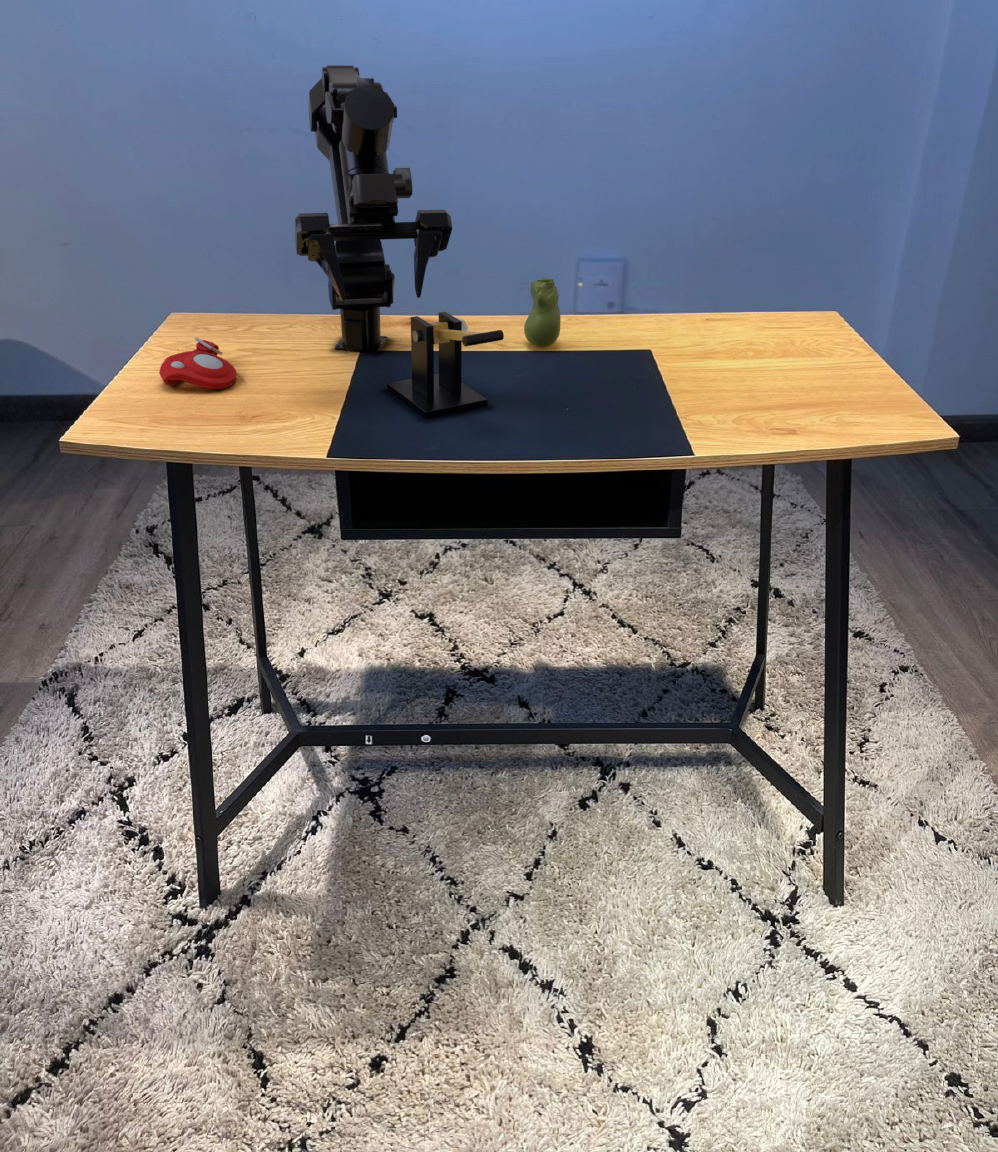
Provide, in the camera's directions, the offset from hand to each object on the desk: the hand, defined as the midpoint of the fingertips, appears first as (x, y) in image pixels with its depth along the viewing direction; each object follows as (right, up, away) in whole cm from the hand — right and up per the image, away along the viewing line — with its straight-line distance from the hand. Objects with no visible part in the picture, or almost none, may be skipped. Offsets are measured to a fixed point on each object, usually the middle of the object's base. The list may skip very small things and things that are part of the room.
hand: (381, 297), depth 123 cm
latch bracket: (+6, -10, +11) cm, 16 cm away
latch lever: (+9, -5, +2) cm, 11 cm away
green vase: (+21, +1, +29) cm, 36 cm away
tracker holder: (-25, -7, +15) cm, 30 cm away
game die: (+8, +2, +31) cm, 32 cm away
